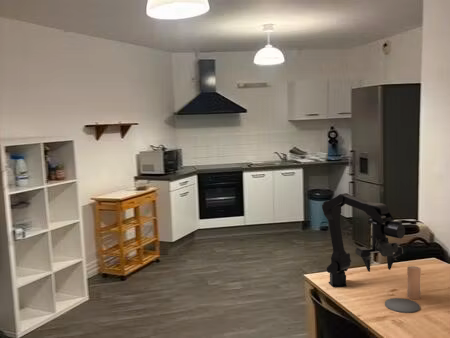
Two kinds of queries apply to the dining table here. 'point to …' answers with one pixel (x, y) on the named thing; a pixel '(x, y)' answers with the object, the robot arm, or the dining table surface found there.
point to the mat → (402, 305)
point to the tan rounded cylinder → (413, 282)
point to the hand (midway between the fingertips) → (379, 270)
